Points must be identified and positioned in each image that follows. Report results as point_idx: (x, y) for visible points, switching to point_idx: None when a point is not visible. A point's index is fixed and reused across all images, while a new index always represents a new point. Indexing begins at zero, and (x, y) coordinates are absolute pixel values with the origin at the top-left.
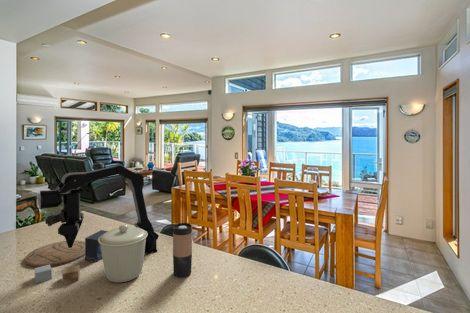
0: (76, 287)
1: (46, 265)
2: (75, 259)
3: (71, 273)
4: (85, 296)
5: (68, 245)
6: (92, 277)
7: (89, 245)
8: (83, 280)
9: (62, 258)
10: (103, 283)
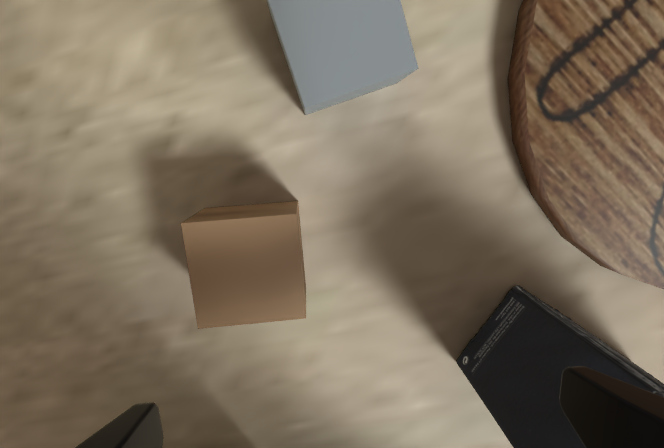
0: (130, 302)
1: (403, 41)
2: (552, 219)
3: (194, 282)
4: (7, 371)
5: (95, 444)
6: (235, 370)
7: None
8: None
9: (587, 125)
10: None
